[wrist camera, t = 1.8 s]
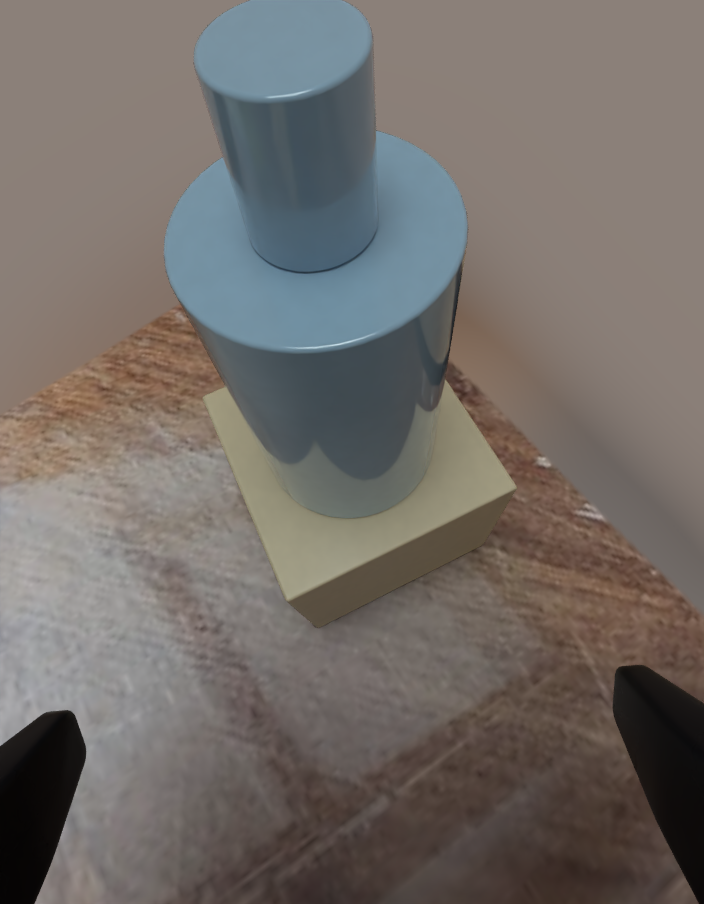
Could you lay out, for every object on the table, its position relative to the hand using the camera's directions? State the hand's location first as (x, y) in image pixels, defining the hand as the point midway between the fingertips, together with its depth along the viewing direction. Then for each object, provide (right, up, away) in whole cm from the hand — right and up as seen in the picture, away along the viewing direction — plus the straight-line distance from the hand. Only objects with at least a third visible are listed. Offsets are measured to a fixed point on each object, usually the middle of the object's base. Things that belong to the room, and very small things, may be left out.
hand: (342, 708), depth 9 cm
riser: (+1, +2, +15) cm, 16 cm away
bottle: (0, +5, +9) cm, 10 cm away
